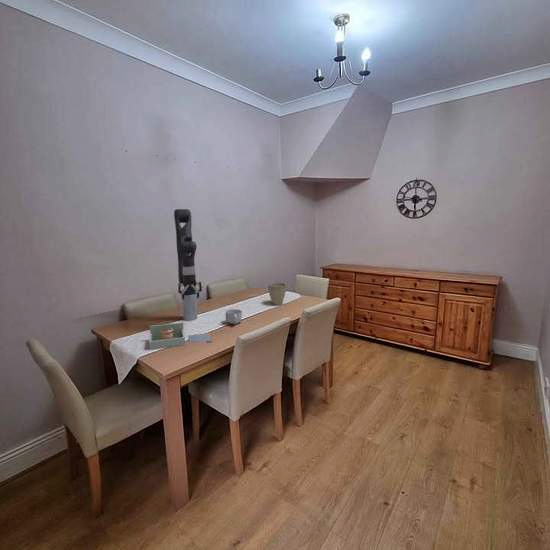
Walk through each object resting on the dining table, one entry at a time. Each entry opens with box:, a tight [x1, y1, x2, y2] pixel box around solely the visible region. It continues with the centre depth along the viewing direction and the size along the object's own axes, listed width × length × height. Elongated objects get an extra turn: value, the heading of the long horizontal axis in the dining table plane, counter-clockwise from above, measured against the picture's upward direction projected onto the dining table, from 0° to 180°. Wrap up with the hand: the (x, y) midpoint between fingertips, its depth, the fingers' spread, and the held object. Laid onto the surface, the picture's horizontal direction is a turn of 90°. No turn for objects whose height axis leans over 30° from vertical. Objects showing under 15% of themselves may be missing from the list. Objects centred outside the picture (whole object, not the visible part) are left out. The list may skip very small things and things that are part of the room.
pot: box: [161, 328, 173, 340], centre depth 166 cm, size 6×6×7 cm
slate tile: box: [187, 332, 213, 344], centre depth 172 cm, size 12×12×1 cm
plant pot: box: [267, 282, 287, 306], centre depth 241 cm, size 15×15×16 cm
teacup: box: [224, 308, 243, 325], centre depth 198 cm, size 14×11×8 cm
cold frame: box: [148, 322, 186, 350], centre depth 166 cm, size 14×18×9 cm
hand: (190, 298), depth 193 cm, fingers open, 8 cm apart
